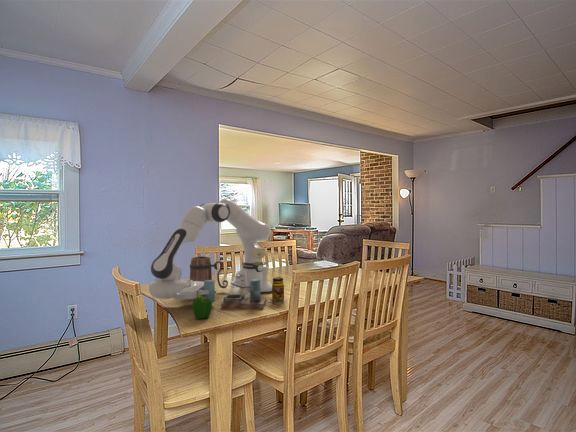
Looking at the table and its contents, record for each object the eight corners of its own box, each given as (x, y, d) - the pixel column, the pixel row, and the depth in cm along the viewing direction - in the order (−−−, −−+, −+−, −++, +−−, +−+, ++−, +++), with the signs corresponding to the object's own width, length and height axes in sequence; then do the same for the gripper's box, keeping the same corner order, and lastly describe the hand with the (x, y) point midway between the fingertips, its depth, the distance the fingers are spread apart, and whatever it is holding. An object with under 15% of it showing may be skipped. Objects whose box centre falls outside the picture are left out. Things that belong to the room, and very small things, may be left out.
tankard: (182, 297, 179) (182, 260, 179) (187, 289, 196) (187, 255, 195) (227, 295, 182) (227, 259, 182) (228, 288, 199) (228, 255, 199)
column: (202, 301, 160) (201, 281, 160) (210, 299, 164) (210, 279, 164) (208, 303, 157) (208, 282, 157) (216, 301, 161) (216, 280, 161)
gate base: (221, 308, 158) (221, 282, 158) (226, 302, 168) (226, 277, 168) (263, 309, 156) (263, 282, 156) (266, 303, 166) (266, 278, 166)
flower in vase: (275, 289, 196) (275, 246, 196) (273, 294, 185) (272, 249, 185) (254, 288, 198) (253, 246, 197) (249, 293, 186) (249, 248, 186)
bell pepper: (204, 313, 150) (204, 291, 150) (215, 317, 145) (215, 294, 145) (188, 318, 144) (187, 295, 143) (199, 322, 138) (199, 298, 138)
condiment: (280, 304, 165) (280, 280, 165) (265, 301, 169) (265, 278, 169) (287, 300, 171) (287, 277, 171) (273, 298, 175) (273, 275, 175)
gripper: (174, 288, 151) (204, 289, 150) (190, 279, 172) (217, 279, 171) (174, 302, 151) (204, 302, 150) (190, 291, 172) (217, 291, 171)
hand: (211, 290), depth 161 cm, fingers closed on column, 5 cm apart
